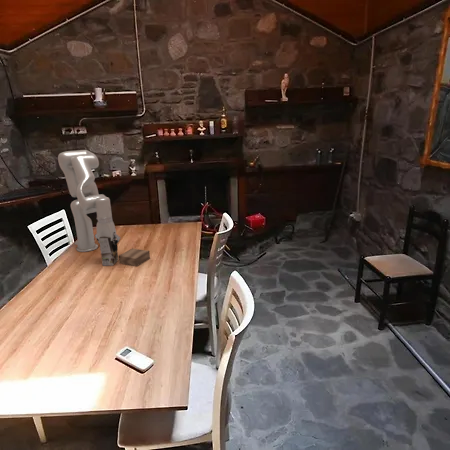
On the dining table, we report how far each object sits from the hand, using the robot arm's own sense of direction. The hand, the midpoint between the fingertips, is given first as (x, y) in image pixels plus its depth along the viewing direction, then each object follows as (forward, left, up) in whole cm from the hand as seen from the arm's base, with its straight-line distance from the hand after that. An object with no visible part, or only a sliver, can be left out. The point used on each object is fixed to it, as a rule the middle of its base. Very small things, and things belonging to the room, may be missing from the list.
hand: (109, 249), depth 195 cm
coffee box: (0, 0, -8) cm, 8 cm away
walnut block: (+12, +6, -8) cm, 16 cm away
